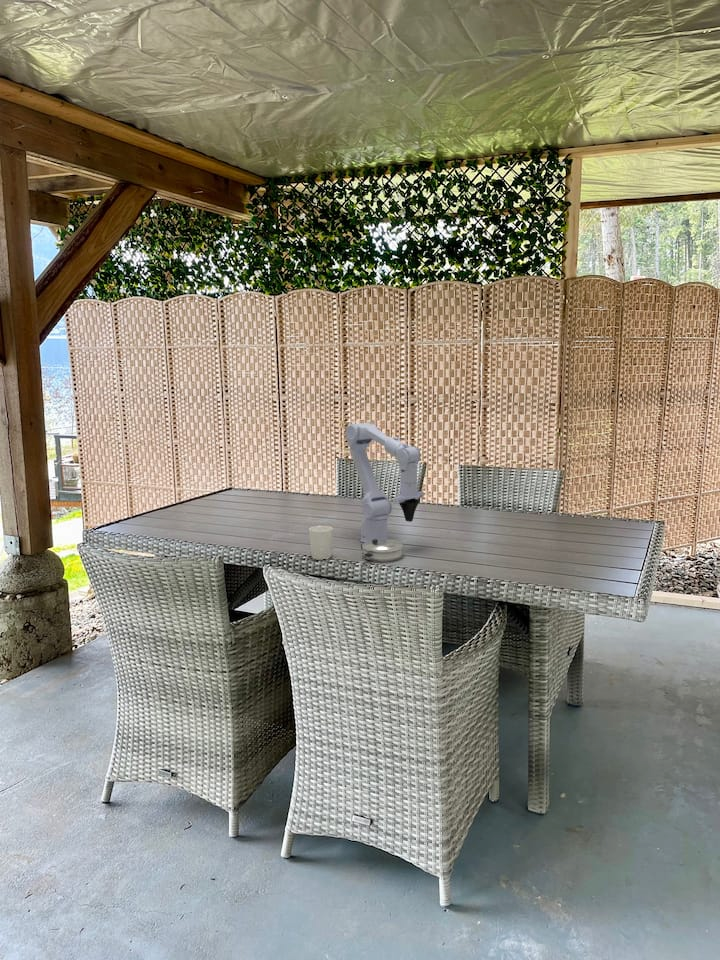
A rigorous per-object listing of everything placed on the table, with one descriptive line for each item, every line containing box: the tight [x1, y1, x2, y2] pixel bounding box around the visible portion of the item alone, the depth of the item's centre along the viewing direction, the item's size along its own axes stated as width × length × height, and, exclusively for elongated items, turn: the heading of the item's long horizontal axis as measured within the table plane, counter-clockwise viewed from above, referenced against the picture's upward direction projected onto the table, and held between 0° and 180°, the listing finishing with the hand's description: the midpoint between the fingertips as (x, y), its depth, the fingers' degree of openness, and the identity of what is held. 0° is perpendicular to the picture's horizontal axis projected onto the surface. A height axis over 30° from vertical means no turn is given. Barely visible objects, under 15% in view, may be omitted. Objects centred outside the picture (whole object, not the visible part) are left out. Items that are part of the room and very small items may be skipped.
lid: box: [361, 539, 404, 553], centre depth 231 cm, size 14×14×2 cm
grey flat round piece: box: [360, 543, 403, 563], centre depth 232 cm, size 15×16×3 cm
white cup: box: [308, 525, 334, 561], centre depth 232 cm, size 8×8×10 cm
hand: (409, 521), depth 238 cm, fingers closed
